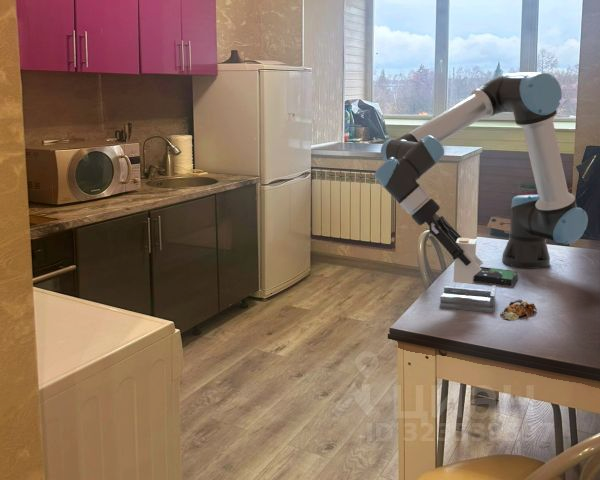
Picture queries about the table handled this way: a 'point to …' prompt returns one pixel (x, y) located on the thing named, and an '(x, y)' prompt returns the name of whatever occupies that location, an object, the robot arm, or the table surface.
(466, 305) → the rail base
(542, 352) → the table surface
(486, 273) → the disk drive
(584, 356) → the table surface
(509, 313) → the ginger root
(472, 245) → the block
